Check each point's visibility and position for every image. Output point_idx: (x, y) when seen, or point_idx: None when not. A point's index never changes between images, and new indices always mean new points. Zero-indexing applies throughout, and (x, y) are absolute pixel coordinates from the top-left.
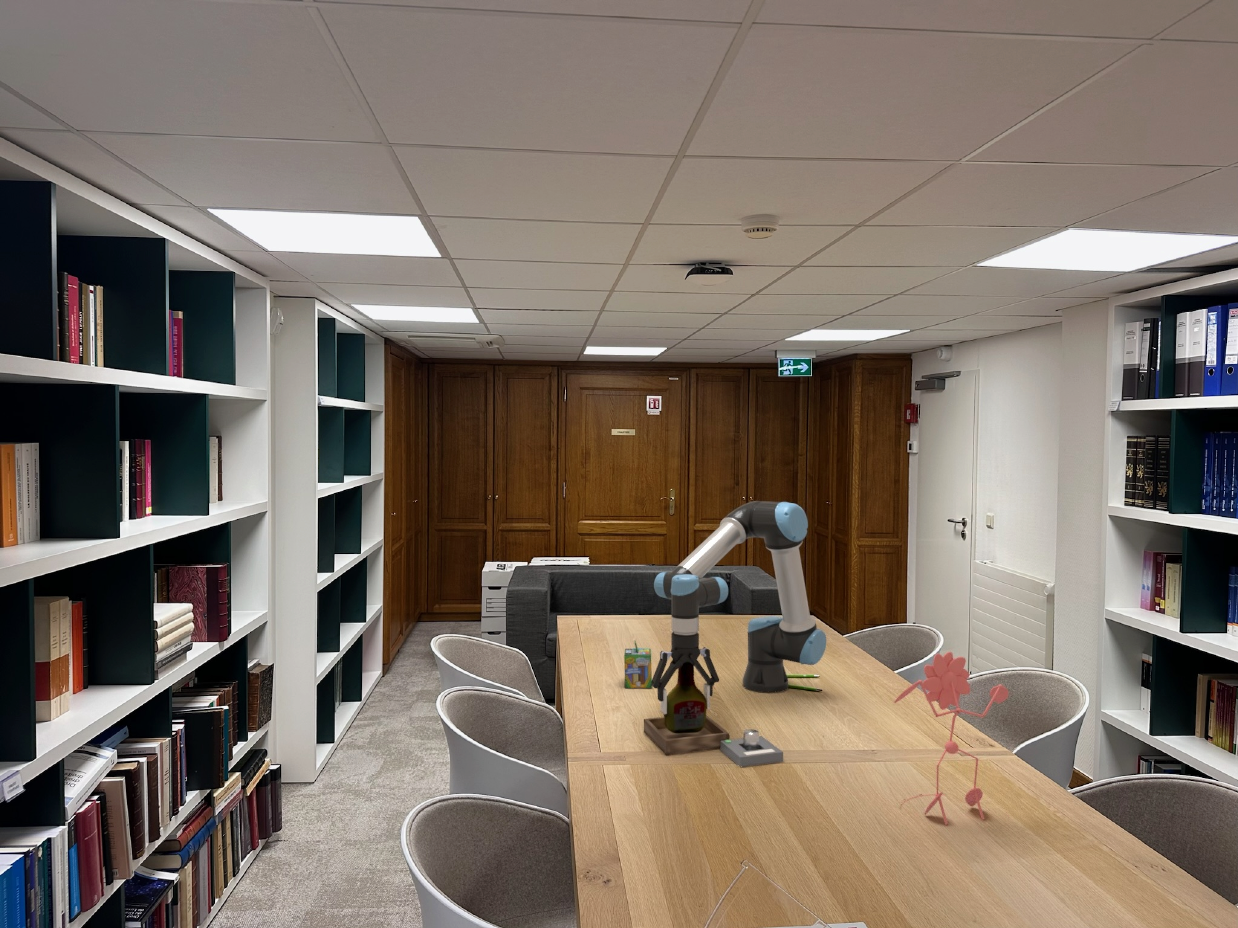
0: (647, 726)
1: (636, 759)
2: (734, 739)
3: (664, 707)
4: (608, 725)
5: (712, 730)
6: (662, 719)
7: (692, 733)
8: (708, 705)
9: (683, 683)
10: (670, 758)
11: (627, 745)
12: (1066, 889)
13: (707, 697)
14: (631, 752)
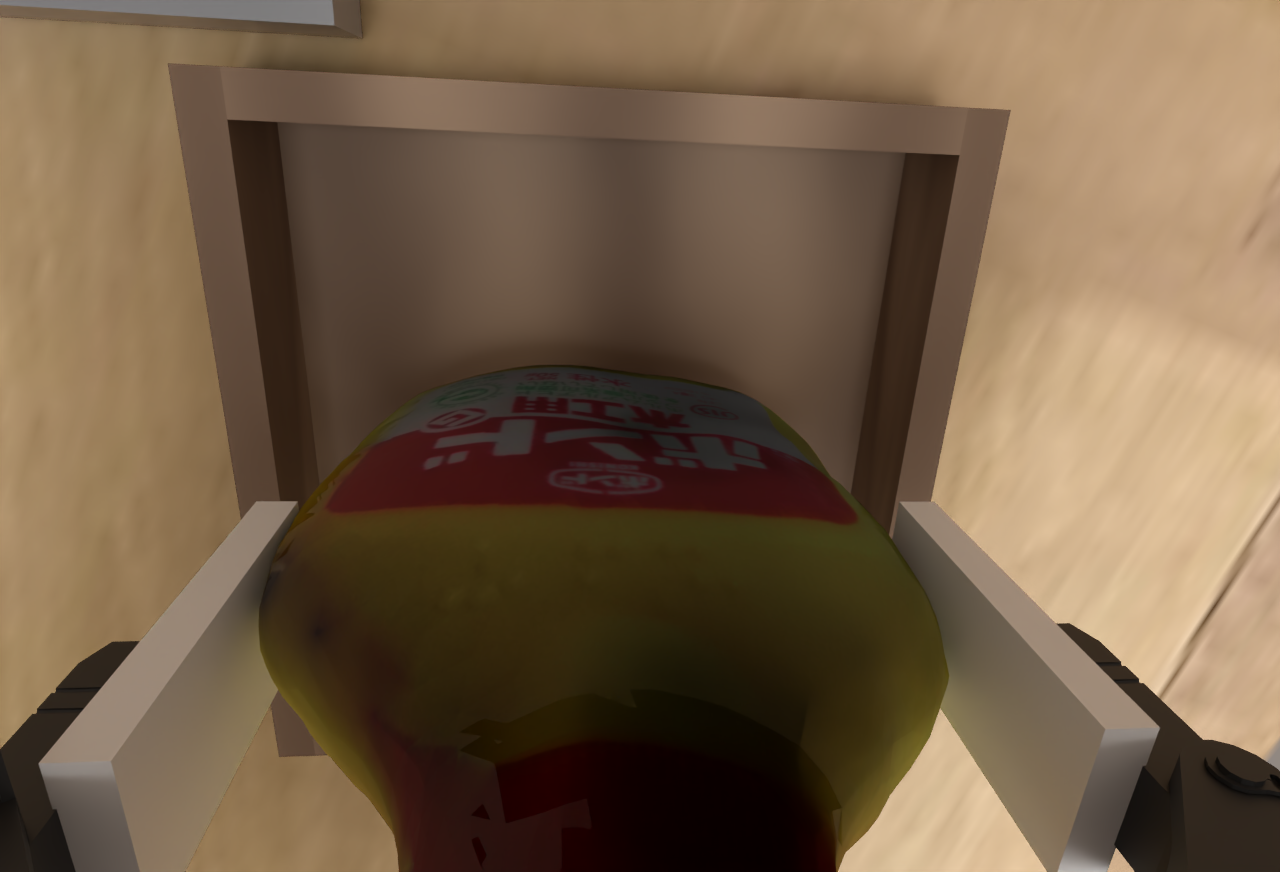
0: None
1: (1214, 119)
2: (139, 2)
3: (972, 544)
4: (999, 826)
5: (301, 432)
6: None
7: None
8: (258, 528)
9: (768, 820)
10: (936, 18)
11: (1095, 448)
12: None
13: (222, 601)
14: (1155, 294)
